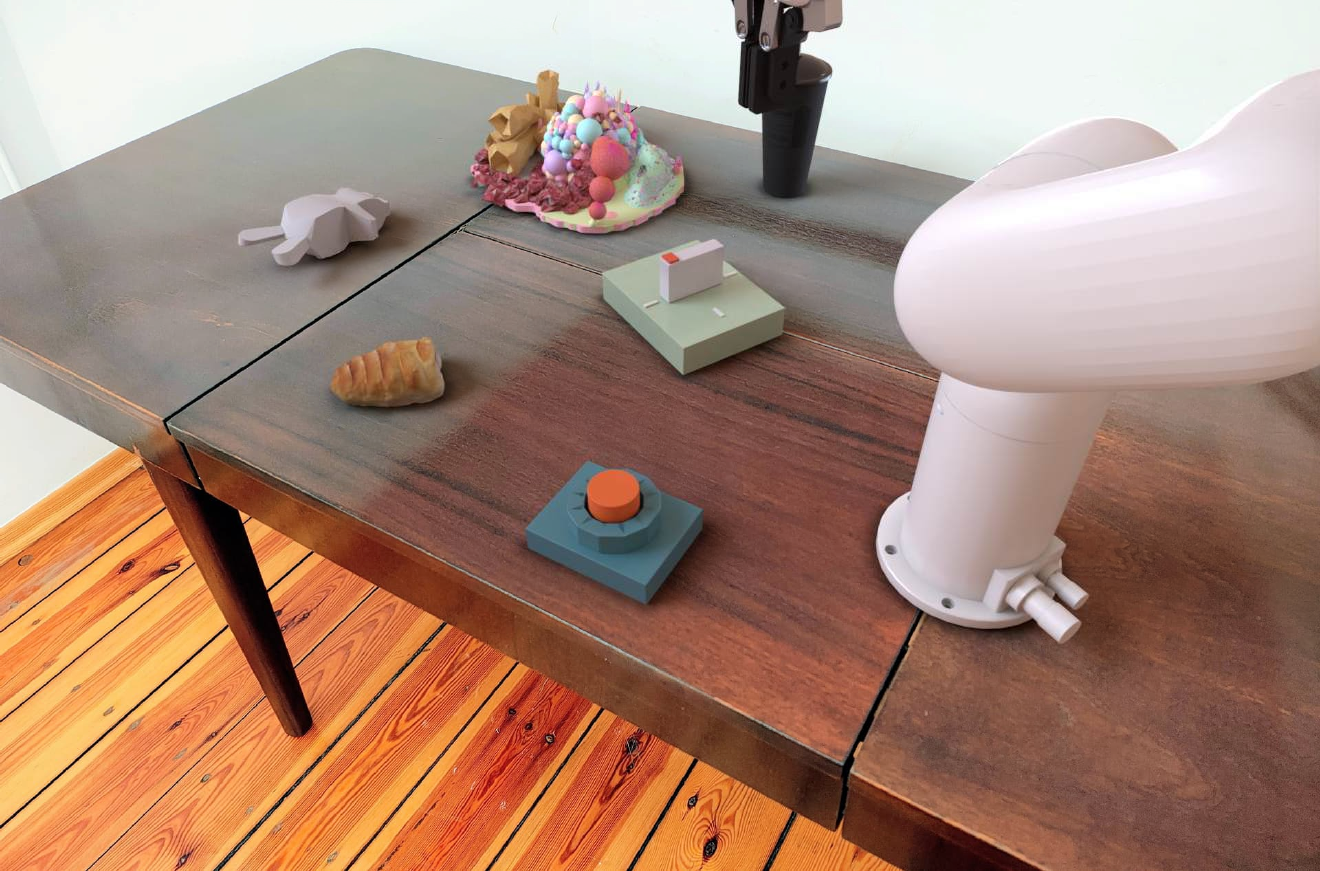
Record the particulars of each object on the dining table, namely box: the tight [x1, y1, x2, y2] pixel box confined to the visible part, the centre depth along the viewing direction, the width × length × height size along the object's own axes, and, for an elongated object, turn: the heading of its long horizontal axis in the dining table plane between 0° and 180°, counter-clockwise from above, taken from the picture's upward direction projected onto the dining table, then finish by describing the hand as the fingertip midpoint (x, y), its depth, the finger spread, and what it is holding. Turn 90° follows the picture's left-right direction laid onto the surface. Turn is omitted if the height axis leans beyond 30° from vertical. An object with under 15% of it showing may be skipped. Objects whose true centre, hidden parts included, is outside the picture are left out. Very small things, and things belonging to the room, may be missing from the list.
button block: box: [525, 460, 704, 605], centre depth 66 cm, size 10×8×4 cm
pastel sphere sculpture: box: [470, 69, 685, 234], centre depth 105 cm, size 25×24×9 cm
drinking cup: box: [761, 43, 834, 199], centre depth 100 cm, size 8×8×20 cm
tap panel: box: [601, 239, 786, 376], centre depth 87 cm, size 14×11×3 cm
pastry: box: [330, 336, 445, 408], centre depth 79 cm, size 9×7×4 cm
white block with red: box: [659, 238, 725, 303], centre depth 85 cm, size 6×2×4 cm, turn 123°
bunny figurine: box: [237, 186, 391, 267], centre depth 96 cm, size 10×5×15 cm
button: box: [587, 470, 640, 524], centre depth 65 cm, size 4×4×2 cm
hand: (765, 104), depth 58 cm, fingers closed
